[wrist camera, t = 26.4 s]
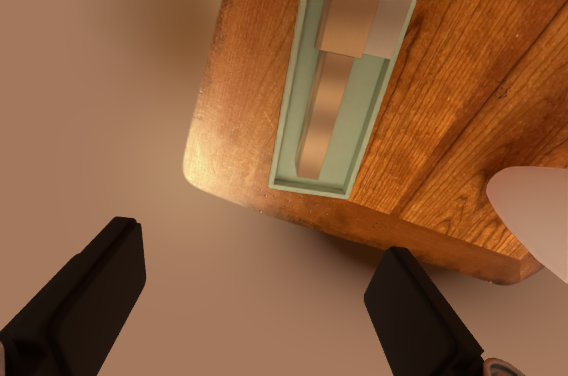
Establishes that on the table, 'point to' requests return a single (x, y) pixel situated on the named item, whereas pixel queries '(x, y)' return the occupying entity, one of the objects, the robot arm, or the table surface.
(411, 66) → the table surface
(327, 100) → the brush
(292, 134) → the tray
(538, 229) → the cup
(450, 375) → the robot arm
